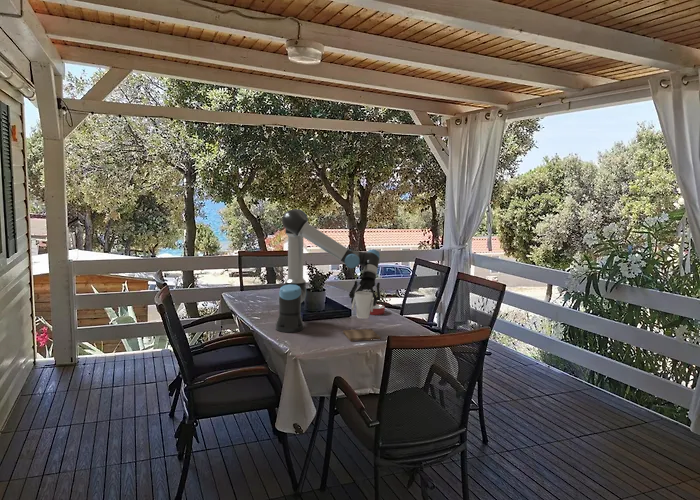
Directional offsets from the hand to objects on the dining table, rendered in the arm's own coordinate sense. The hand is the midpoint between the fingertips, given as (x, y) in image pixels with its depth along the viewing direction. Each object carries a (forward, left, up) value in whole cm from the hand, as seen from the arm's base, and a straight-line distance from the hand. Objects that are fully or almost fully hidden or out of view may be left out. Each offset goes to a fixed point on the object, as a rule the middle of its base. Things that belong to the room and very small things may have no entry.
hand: (361, 309), depth 252 cm
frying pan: (+21, +60, -15) cm, 65 cm away
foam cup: (+2, +3, -5) cm, 6 cm away
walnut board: (+1, +3, -15) cm, 15 cm away
